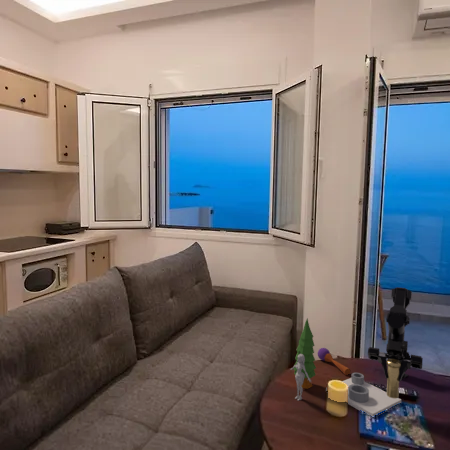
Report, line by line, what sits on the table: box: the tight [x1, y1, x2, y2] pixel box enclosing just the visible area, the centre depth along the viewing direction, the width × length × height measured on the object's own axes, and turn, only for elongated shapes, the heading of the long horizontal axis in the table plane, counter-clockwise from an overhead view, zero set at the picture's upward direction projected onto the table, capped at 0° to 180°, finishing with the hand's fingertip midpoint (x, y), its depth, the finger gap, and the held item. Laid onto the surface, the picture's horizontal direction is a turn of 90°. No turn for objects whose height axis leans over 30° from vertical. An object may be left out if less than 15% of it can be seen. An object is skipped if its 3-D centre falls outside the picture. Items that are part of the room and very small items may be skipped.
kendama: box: [317, 347, 351, 376], centre depth 176 cm, size 6×6×20 cm
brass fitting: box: [386, 359, 401, 398], centre depth 136 cm, size 5×5×13 cm
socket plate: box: [325, 372, 402, 416], centre depth 148 cm, size 18×22×5 cm
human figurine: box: [290, 354, 312, 401], centre depth 147 cm, size 12×4×18 cm, turn 28°
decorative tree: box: [292, 317, 317, 390], centre depth 157 cm, size 10×9×30 cm
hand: (392, 379), depth 135 cm, fingers closed on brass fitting, 4 cm apart
